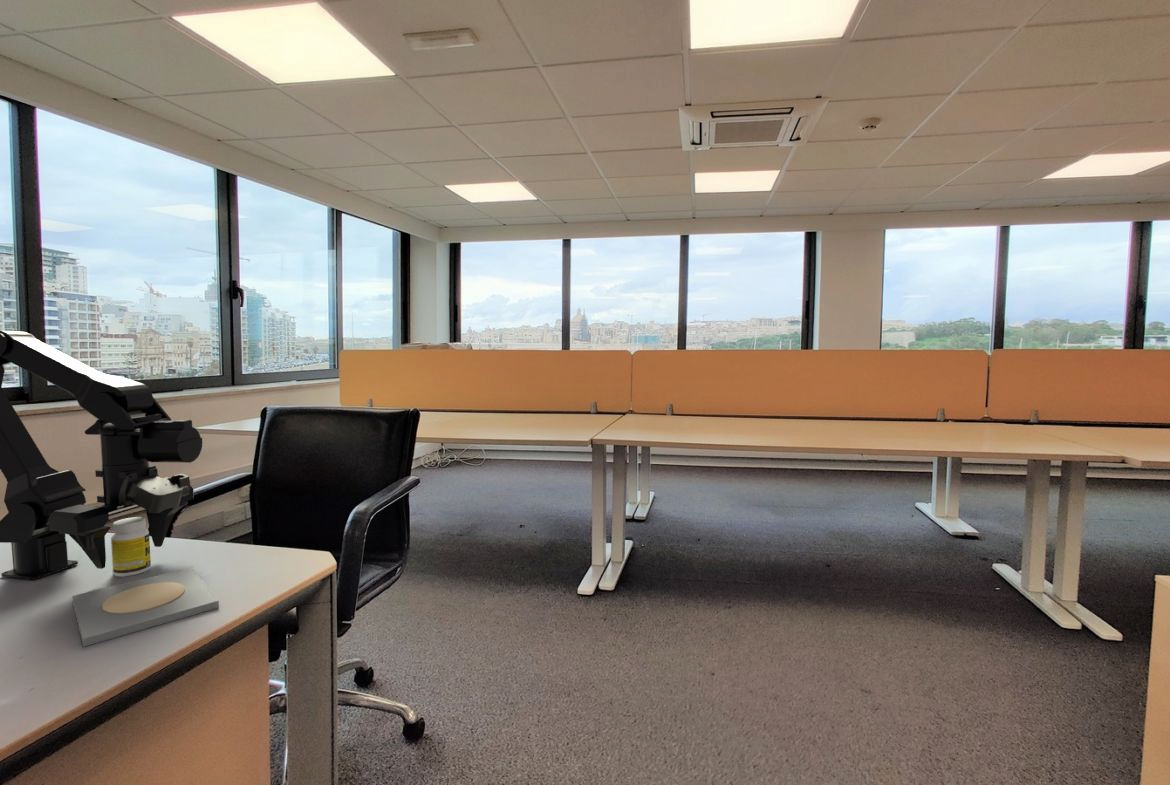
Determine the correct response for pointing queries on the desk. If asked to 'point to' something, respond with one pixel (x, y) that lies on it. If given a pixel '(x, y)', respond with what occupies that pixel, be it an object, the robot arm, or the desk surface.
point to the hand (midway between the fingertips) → (131, 556)
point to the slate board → (141, 605)
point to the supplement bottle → (130, 547)
